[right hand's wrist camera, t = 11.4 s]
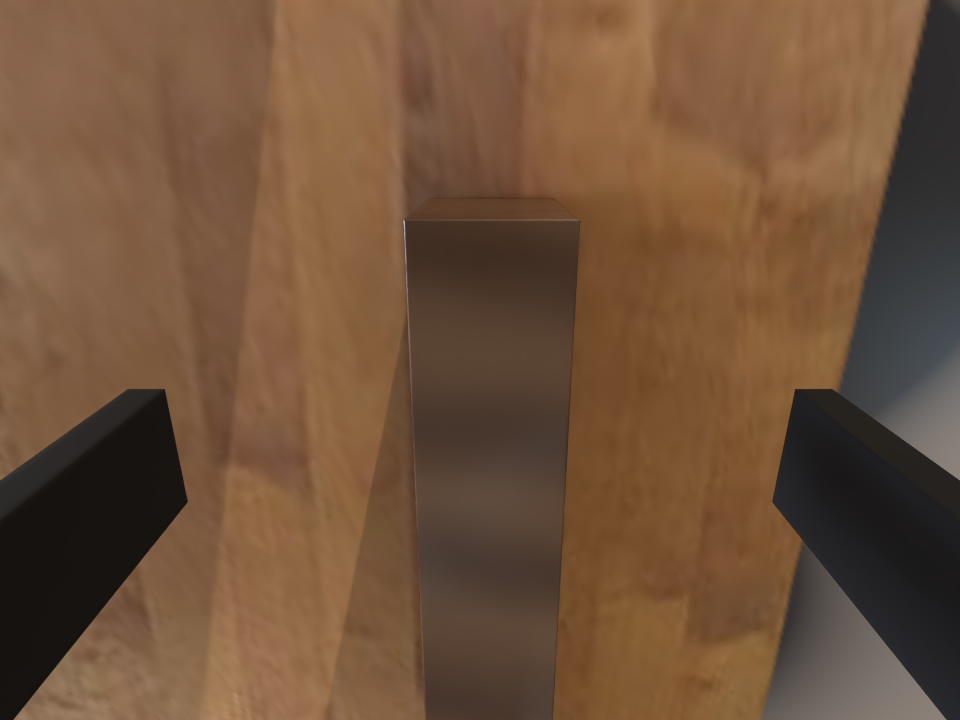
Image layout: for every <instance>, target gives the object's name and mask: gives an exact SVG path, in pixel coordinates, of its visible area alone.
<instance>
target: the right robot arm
mask: <svg viewBox="0 0 960 720" xmlns="http://www.w3.org/2000/svg"><path fill="white" fill-rule="evenodd" d="M187 502H188V501H187V496H186V491H185V486H184V481H183V476H182V472H181V467H180V462H179V457H178V452H177V447H176V442H175V437H174V432H173V427H172V423H171V418H170V413H169V408H168V403H167V398H166V393H165V389H127V390H126V391H125V392H123V393H122V394H120V395H119V396H118V397H116V398H115V399H113V400H112V401H111V402H109V403H108V404H106V405H105V406H104V407H102V408H101V409H100V410H98V411H97V412H95V413H94V414H93V415H91V416H90V417H88V418H87V419H86V420H84V421H83V422H81V423H80V424H79V425H77V426H76V427H74V428H73V429H72V430H70V431H69V432H67V433H66V434H65V435H63V436H62V437H60V438H59V439H58V440H56V441H55V442H53V443H52V444H51V445H49V446H48V447H46V448H45V449H44V450H42V451H41V452H39V453H38V454H37V455H35V456H34V457H32V458H31V459H30V460H28V461H27V462H26V463H24V464H23V465H21V466H20V467H19V468H17V469H16V470H14V471H13V472H12V473H10V474H9V475H7V476H6V477H5V478H3V479H2V480H0V720H14V718H15V717H16V716H17V715H18V713H19V712H20V711H21V710H22V708H23V707H24V706H25V705H26V703H27V702H28V701H29V700H30V698H31V697H32V696H33V695H34V693H35V692H36V691H37V690H38V688H39V687H40V686H41V685H42V683H43V682H44V681H45V680H46V678H47V677H48V676H49V675H50V673H51V672H52V671H53V670H54V668H55V667H56V666H57V665H58V663H59V662H60V661H61V660H62V658H63V657H64V656H65V655H66V653H67V652H68V651H69V650H70V648H71V647H72V646H73V645H74V643H75V642H76V641H77V640H78V638H79V637H80V636H81V635H82V633H83V632H84V631H85V630H86V628H87V627H88V626H89V625H90V623H91V622H92V621H93V620H94V618H95V617H96V616H97V615H98V613H99V612H100V611H101V610H102V608H103V607H104V606H105V605H106V603H107V602H108V601H109V600H110V598H111V597H112V596H113V595H114V593H115V592H116V591H117V590H118V588H119V587H120V586H121V585H122V583H123V582H124V581H125V580H126V578H127V577H128V576H129V575H130V573H131V572H132V571H133V570H134V568H135V567H136V566H137V565H138V563H139V562H140V561H141V560H142V558H143V557H144V556H145V555H146V553H147V552H148V551H149V550H150V548H151V547H152V546H153V545H154V543H155V542H156V541H157V540H158V538H159V537H160V536H161V535H162V533H163V532H164V531H165V530H166V528H167V527H168V526H169V525H170V523H171V522H172V521H173V520H174V518H175V517H176V516H177V515H178V513H179V512H180V511H181V510H182V508H183V507H184V506H185V505H186V503H187ZM772 502H773V503H774V505H775V506H776V507H777V508H778V510H779V511H780V512H781V513H782V515H783V516H784V517H785V518H786V520H787V521H788V522H789V523H790V525H791V526H792V527H793V528H794V530H795V531H796V532H797V533H798V535H799V536H800V537H801V538H802V540H803V541H804V542H805V543H806V545H807V546H808V547H809V548H810V550H811V551H812V552H813V553H814V555H815V556H816V557H817V558H818V560H819V561H820V562H821V563H822V565H823V566H824V567H825V568H826V570H827V571H828V572H829V573H830V575H831V576H832V577H833V578H834V580H835V581H836V582H837V583H838V585H839V586H840V587H841V588H842V590H843V591H844V592H845V593H846V595H847V596H848V597H849V598H850V600H851V601H852V602H853V603H854V605H855V606H856V607H857V608H858V610H859V611H860V612H861V613H862V615H863V616H864V617H865V618H866V620H867V621H868V622H869V623H870V625H871V626H872V627H873V628H874V630H875V631H876V632H877V633H878V635H879V636H880V637H881V638H882V640H883V641H884V642H885V643H886V645H887V646H888V647H889V648H890V649H891V651H892V652H893V653H894V654H895V656H896V657H897V658H898V659H899V661H900V662H901V663H902V665H903V666H904V667H905V668H906V670H907V671H908V672H909V673H910V675H911V676H912V677H913V678H914V680H915V681H916V682H917V683H918V685H919V686H920V687H921V688H922V690H923V691H924V692H925V693H926V695H927V696H928V697H929V698H930V699H931V701H932V702H933V703H934V705H935V706H936V707H937V708H938V710H939V711H940V712H941V713H942V715H943V716H944V717H945V718H946V719H947V720H960V480H958V479H957V478H955V477H954V476H953V475H951V474H950V473H948V472H947V471H946V470H944V469H943V468H941V467H940V466H939V465H937V464H936V463H934V462H933V461H932V460H930V459H929V458H928V457H926V456H925V455H923V454H922V453H920V452H919V451H918V450H916V449H915V448H914V447H912V446H911V445H909V444H908V443H907V442H905V441H904V440H902V439H901V438H900V437H898V436H897V435H895V434H894V433H893V432H891V431H890V430H888V429H887V428H886V427H884V426H883V425H881V424H880V423H879V422H877V421H876V420H874V419H873V418H872V417H870V416H869V415H867V414H866V413H865V412H863V411H862V410H860V409H859V408H858V407H856V406H855V405H854V404H852V403H851V402H849V401H848V400H847V399H845V398H844V397H842V396H841V395H840V394H838V393H837V392H835V391H834V390H833V389H795V393H794V398H793V403H792V408H791V413H790V418H789V423H788V427H787V432H786V437H785V442H784V447H783V452H782V457H781V462H780V467H779V472H778V476H777V481H776V486H775V491H774V496H773V501H772Z"/></svg>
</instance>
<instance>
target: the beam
mask: <svg viewBox="0 0 960 720" xmlns="http://www.w3.org/2000/svg"><path fill="white" fill-rule="evenodd" d="M403 223H404V246H405V269H406V292H407V314H408V337H409V360H410V383H411V406H412V429H413V452H414V475H415V497H416V520H417V543H418V566H419V589H420V612H421V635H422V658H423V681H424V703H425V720H553V705H554V686H555V668H556V650H557V632H558V613H559V595H560V577H561V559H562V540H563V522H564V504H565V486H566V467H567V449H568V431H569V413H570V394H571V376H572V358H573V340H574V321H575V303H576V285H577V266H578V248H579V230H580V220H579V219H578V218H577V217H576V216H574V215H573V214H572V213H571V212H569V211H568V210H567V209H566V208H565V207H563V206H562V205H561V204H560V203H558V202H557V201H556V200H555V199H548V198H430V199H428V200H427V201H426V202H425V203H424V204H422V205H421V206H420V207H419V208H417V209H416V210H415V211H414V212H412V213H411V214H410V215H409V216H408V217H406V218H405V219H404V221H403Z"/></svg>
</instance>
